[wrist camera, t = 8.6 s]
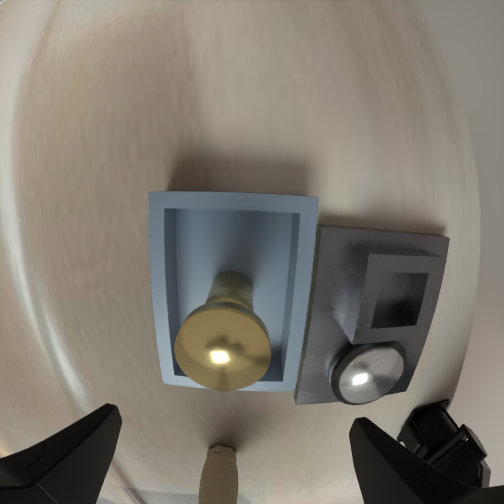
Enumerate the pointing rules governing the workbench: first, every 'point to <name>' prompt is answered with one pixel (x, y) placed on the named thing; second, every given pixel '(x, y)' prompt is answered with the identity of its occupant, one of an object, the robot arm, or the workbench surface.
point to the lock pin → (224, 337)
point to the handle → (219, 477)
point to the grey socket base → (368, 312)
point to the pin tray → (233, 268)
